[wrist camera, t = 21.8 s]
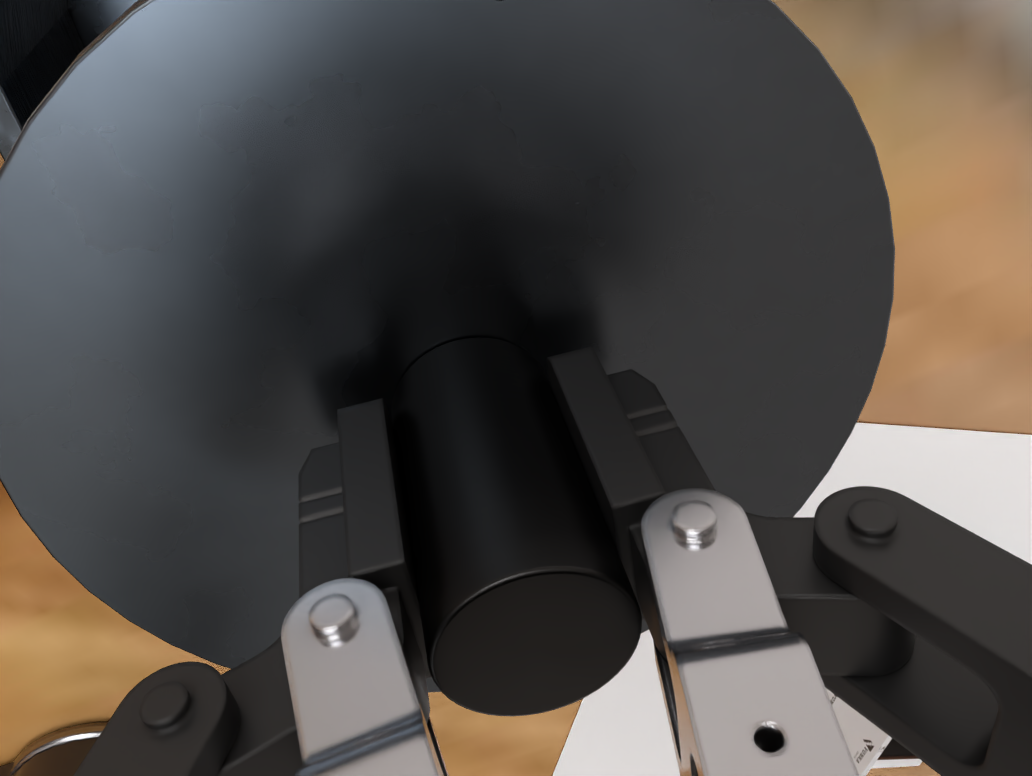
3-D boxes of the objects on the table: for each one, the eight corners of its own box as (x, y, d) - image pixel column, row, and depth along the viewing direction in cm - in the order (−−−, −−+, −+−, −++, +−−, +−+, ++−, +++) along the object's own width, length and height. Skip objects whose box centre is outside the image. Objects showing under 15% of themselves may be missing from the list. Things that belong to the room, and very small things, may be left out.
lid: (195, 723, 19) (162, 1049, 15) (-254, 22, 11) (-706, 245, 6) (839, 549, 20) (1011, 802, 16) (900, -221, 12) (1330, -200, 7)
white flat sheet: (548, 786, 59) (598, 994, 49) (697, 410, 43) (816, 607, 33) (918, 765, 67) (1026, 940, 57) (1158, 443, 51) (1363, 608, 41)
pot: (148, 236, 33) (111, 362, 26) (-56, -210, 25) (-187, -194, 18) (509, 149, 34) (563, 250, 27) (427, -310, 26) (475, -331, 19)
